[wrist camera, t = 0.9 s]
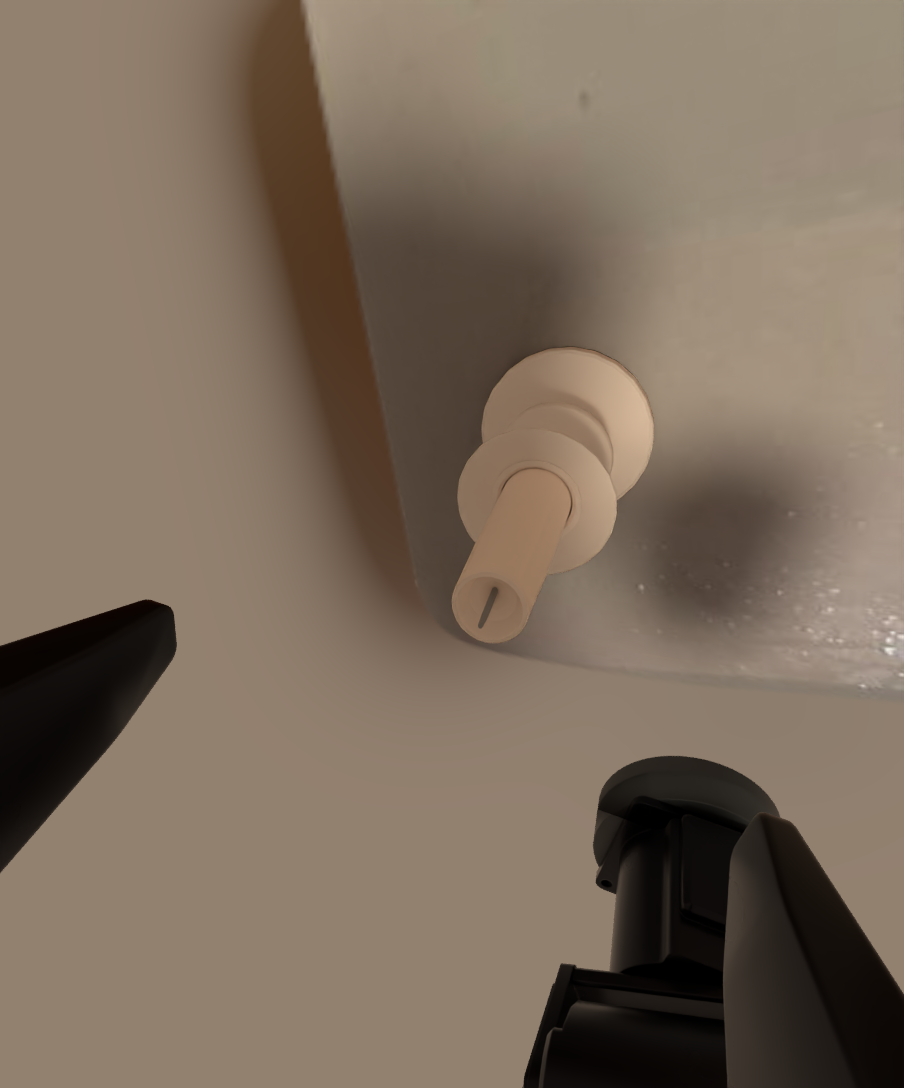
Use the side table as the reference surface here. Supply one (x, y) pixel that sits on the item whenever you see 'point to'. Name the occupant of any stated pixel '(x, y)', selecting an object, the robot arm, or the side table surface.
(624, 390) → the candle
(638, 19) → the side table surface
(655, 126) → the side table surface
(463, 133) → the side table surface
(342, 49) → the side table surface
